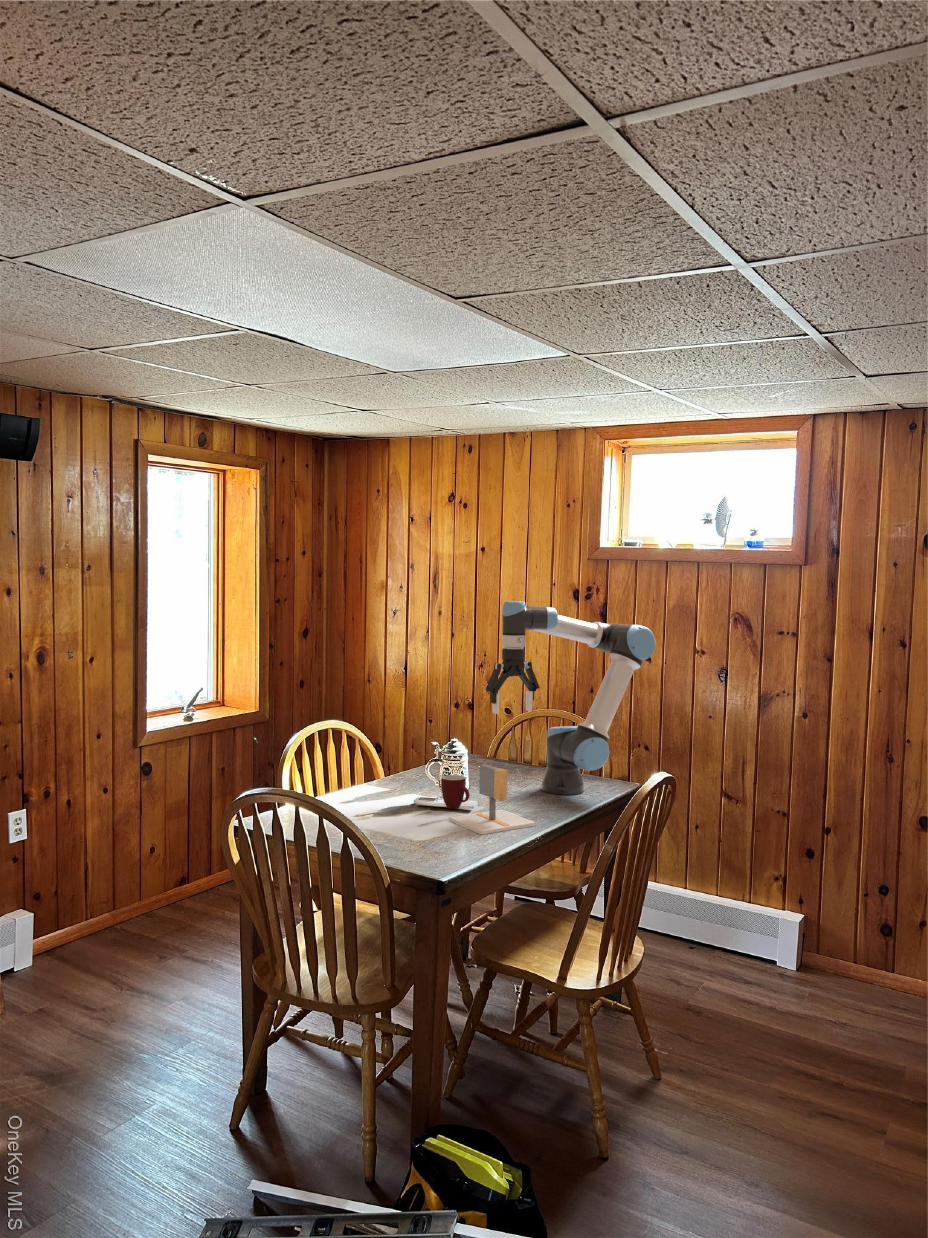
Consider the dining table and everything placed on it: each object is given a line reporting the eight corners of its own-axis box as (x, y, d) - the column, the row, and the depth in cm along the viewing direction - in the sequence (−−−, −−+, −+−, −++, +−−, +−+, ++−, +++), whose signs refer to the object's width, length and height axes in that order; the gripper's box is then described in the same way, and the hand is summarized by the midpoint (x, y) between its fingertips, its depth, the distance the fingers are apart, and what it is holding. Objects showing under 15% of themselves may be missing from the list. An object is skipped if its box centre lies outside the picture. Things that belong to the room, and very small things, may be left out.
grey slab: (479, 793, 286) (479, 764, 285) (485, 792, 287) (486, 764, 287) (499, 801, 276) (500, 771, 276) (506, 800, 278) (507, 770, 278)
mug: (476, 808, 300) (476, 778, 300) (463, 813, 294) (463, 782, 293) (449, 803, 306) (449, 774, 306) (436, 808, 299) (436, 778, 299)
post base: (502, 812, 295) (502, 788, 295) (535, 825, 280) (536, 799, 280) (449, 820, 284) (449, 795, 284) (481, 834, 269) (481, 807, 269)
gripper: (488, 650, 291) (487, 716, 292) (550, 647, 304) (549, 710, 305) (475, 648, 297) (474, 713, 298) (536, 645, 310) (535, 707, 311)
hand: (512, 712), depth 302 cm, fingers open, 13 cm apart
